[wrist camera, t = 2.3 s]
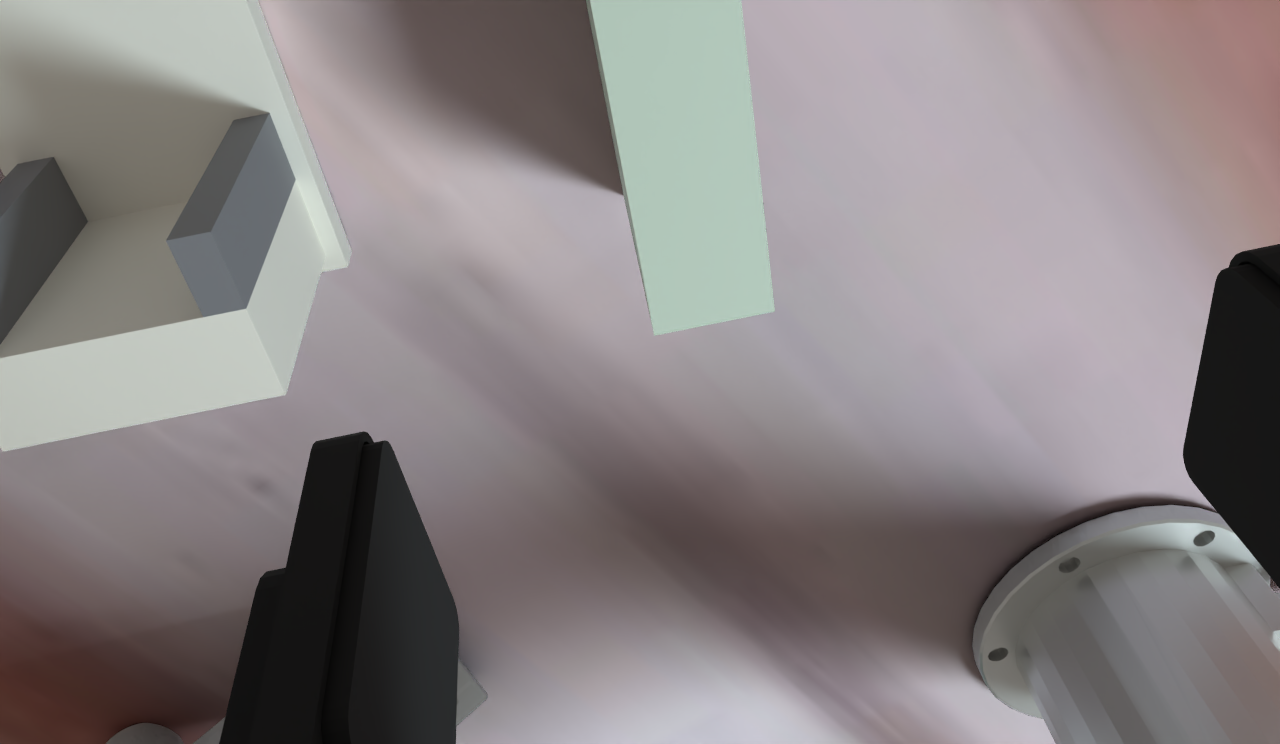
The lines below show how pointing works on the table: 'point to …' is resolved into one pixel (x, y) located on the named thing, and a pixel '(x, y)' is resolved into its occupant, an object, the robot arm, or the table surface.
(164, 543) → the table surface
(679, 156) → the door panel
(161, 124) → the hinge frame
